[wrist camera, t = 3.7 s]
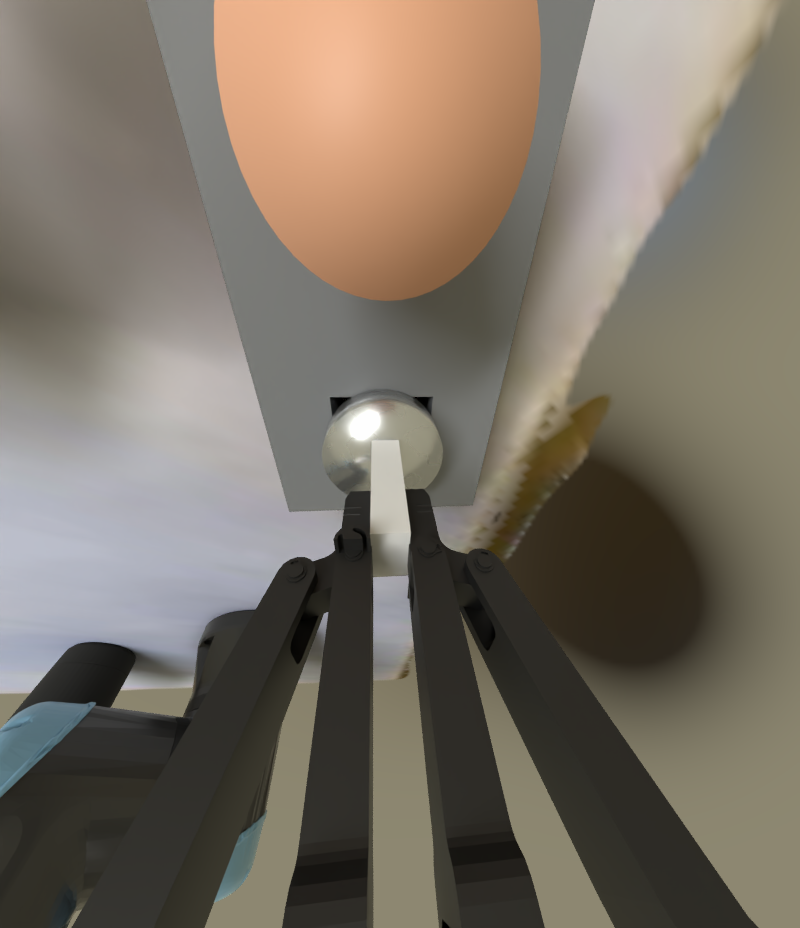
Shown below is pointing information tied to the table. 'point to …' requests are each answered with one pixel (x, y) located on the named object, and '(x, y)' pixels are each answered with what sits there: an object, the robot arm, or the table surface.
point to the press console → (355, 318)
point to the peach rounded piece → (380, 129)
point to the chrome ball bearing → (381, 420)
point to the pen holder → (84, 676)
